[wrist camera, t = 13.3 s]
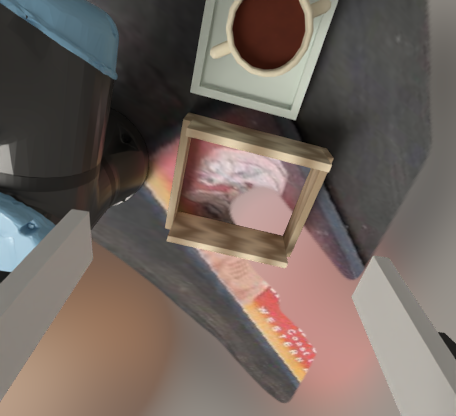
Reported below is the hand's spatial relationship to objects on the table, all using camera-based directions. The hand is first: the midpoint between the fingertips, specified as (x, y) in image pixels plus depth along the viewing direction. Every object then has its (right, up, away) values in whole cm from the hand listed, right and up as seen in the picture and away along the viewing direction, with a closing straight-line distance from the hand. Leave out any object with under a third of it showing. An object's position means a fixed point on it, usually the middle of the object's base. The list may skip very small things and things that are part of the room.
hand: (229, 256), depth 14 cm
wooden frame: (+2, +6, +32) cm, 33 cm away
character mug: (+4, +23, +21) cm, 32 cm away
